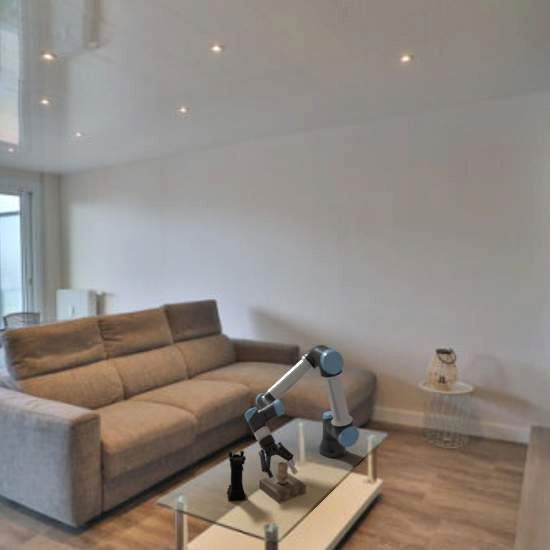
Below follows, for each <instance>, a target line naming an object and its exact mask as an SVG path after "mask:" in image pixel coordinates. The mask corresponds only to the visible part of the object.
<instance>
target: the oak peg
mask: <svg viewBox="0 0 550 550" xmlns="http://www.w3.org/2000/svg"><path fill="white" fill-rule="evenodd" d="M277 466H278V467H277V468H278V469H277V471H278V472H277V473H278V477H279V485H281V486H284V485H286V478H287V472H288V470H289V469H288V467H289V465H288V463H287V462H283V461H282V462H281V461H280V462H279V463H278V464H277Z"/></svg>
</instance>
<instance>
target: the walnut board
mask: <svg viewBox="0 0 550 550" xmlns="http://www.w3.org/2000/svg"><path fill="white" fill-rule="evenodd" d="M275 476H276V478H277V480H278V483H276V484H275V485H274V483H273V481H272V479H271V478H270V477H269V476H267V477H265V478H262V479H259V484H258V485H259V487H258V489H260V490H261V491H262V492H263V493H265V494H266V495H268V496H269V497H270V498H272V499H273V500H274V501H276V503H278V504H281V503H284V502H286V501H289V500H292V499H294V498H297V497H299V496H302V495H305V494H307V484H306V483H305V482H303V481H302V480H300V479H298V478H297V477H295V476H293V474H291V473H289V472H288V471H287V478H286V485H284V486H281V485H279V477H278V474H275Z"/></svg>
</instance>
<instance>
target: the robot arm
mask: <svg viewBox="0 0 550 550" xmlns="http://www.w3.org/2000/svg"><path fill="white" fill-rule="evenodd" d="M343 367H344V358H343V356H342V354H341V353H339V352H338V351H337V350H335V349H332V348H331V347H328V346H327V345H324V344H319V345H315V346H313V347H311V348H310V349H309V350H307V352H306V353H304V354H303V355H302V356H301V359H300V360H299V361H298V362H297V363H296V364H295V365H294V366H293V367H292V368H291V369H289V370H288V372H286V373H285V374H284V375H283V376H282V377H280V378H279V380H278V381H276V382H275V383H274V384H273V385H272V386H271V387H270V388H269V389H268V390H266V391H265V392H263V393H259V394H257V395H256V396H255V404H256V405H257V407H256V406H255V407H252V408H250V409H248V410H247V411H245V413H244V418H245V419H246V422H247V425H248V426H249V427H250V430H251V431H252V433H253V436H255V437H254V438H255V439H256V441H257V442H258V444H259V446H260V448H261V449H260V450H259V451H258V454H259V459H260V465H261V466H260V467H261V472H263V473H266V474H267V475H268V476H267V477H270V478H271V479H272V481H273V483H274V485H275V484H276V483H278V480H277V478H276V476H275V475H276V474H275V472H274V471H273V468H271V463H272V462H271V459H272V457H274V456H278V457H280V458H282V459H283V460H285V461H287V462H286V463H287V464H288V467H289V469H290V471H291V472H292V475H296V474H297V473H298V472H299V471H298V469H297V467H296V464H295V462H294V460H293V458H294V457H295V456H294V454H293V453H291V452H290V451H289V450H288V449H287V447H285V446H284V445H283V444H282V442H281V441H279V442H277V443H276V442H275V438H274V436H273V434H271V433H272V432H271V431H270V429H269V428H268V425H267V423H270V422H271V421H273V420H275V419H276V418H278V417H280V416H282V415H283V414H284V413H285V411H286V410H285V407H284V403H282V401H281V400H280V399H281V398H282V397H284V395H285V394H286V393H288V392H289V390H291V389H292V388H293V387H294V386H295V385H296V384H298V382H300V380H302V379H303V378H304V377H305V376H306V375H307V374H308V373H310V371H314V370H315V369H317V368H318V369H319V373H320V376H321V378H323V379H324V383H325V386H326V391H327V397H328V402H329V405H330V409H331V410H329V411H325V412H324V413H323V415H322V438H321V441H320V444H319V447H318V453H319V454H320V453H321V454H320V455H322V456H324V457H326V458H333V457H337V458H341V457H340V456H342V457H344V456H345V455H346V454H347V453H346V451H347V448H349V447H352V446H354V445H355V444H356V443H357V441H358V440H359V439H360V438H359V437H360V431H359V429H358V428H357V427H356V426H355V423H354V418H353V417H352V416H351V415H350V414H349V410H348V409H349V408H348V404H347V401H346V400H347V399H346V395H345V391H344V390H345V389H344V387H343V382H342V381H343V380H342V378H341V375H342V373H343ZM258 408H259V409H258ZM345 453H346V454H345ZM344 454H345V455H344ZM343 455H344V456H343Z"/></svg>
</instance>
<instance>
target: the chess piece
mask: <svg viewBox="0 0 550 550" xmlns="http://www.w3.org/2000/svg"><path fill="white" fill-rule="evenodd" d="M239 452H240V453H235V454H233V451H228V453H227V454H228V459H229V467H230V484H229V485H228V488H227V491H226V495H228V496H227V501H231V502H240V501H246V500H247V498H246V494H245V489H244V485H243V471H244V466H243V465H245V461H246V459H247V458H246V455H245V451H244V450H240V451H239Z"/></svg>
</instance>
